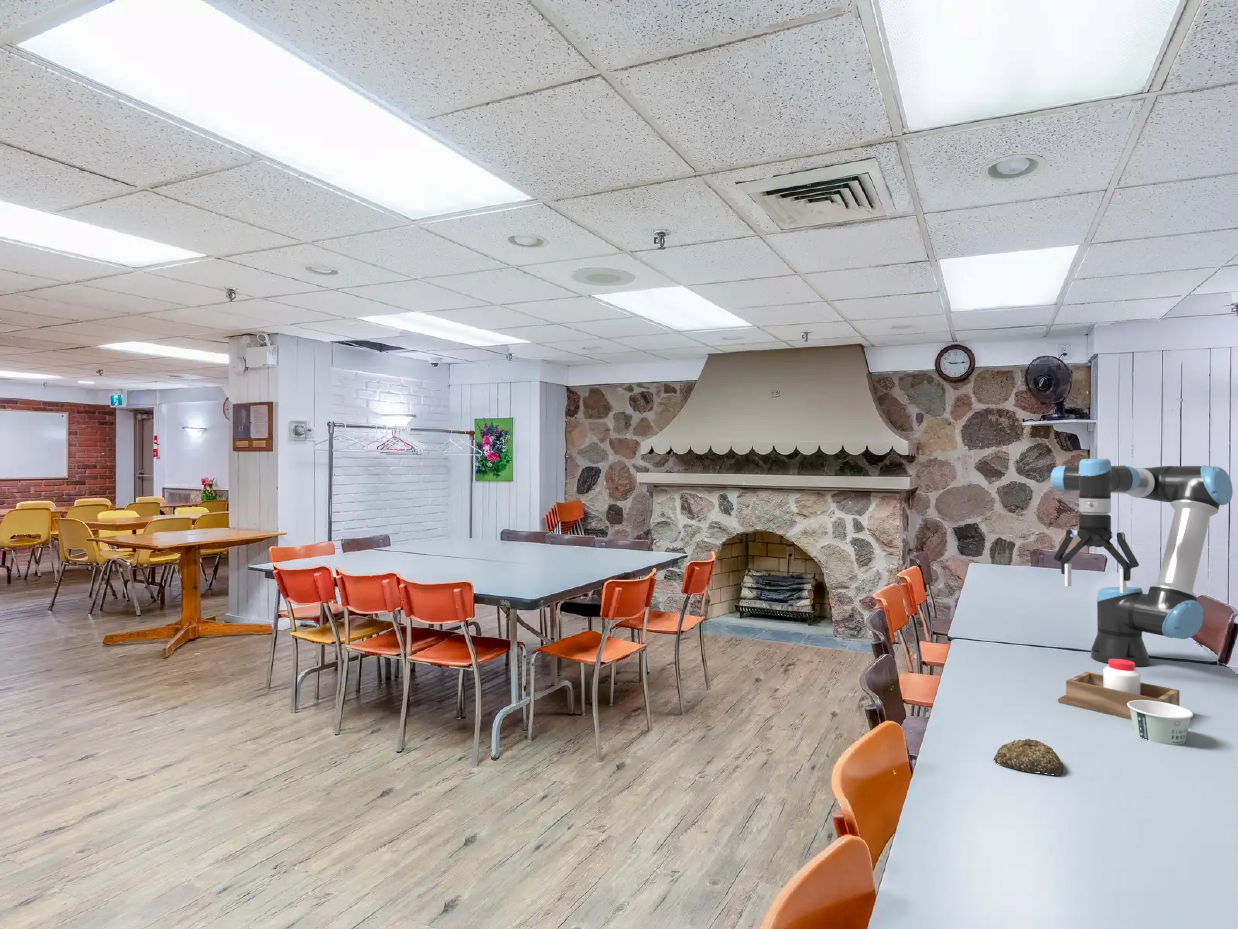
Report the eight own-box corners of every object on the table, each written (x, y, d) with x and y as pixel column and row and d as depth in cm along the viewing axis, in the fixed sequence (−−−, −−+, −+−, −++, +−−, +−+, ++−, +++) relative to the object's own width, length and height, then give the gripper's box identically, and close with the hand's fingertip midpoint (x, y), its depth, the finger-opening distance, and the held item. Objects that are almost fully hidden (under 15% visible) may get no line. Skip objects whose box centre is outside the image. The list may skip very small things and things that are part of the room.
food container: (1175, 751, 155) (1175, 720, 155) (1115, 733, 166) (1115, 704, 166) (1204, 741, 161) (1204, 712, 161) (1144, 724, 172) (1144, 697, 172)
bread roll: (1063, 782, 141) (1062, 756, 141) (991, 767, 147) (991, 743, 147) (1063, 759, 152) (1063, 735, 152) (997, 747, 158) (997, 724, 158)
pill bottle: (1146, 711, 178) (1146, 666, 178) (1111, 709, 179) (1111, 664, 179) (1131, 701, 185) (1131, 658, 185) (1097, 699, 187) (1097, 656, 187)
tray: (1079, 692, 196) (1079, 670, 196) (1188, 716, 177) (1188, 691, 177) (1058, 702, 187) (1058, 679, 187) (1170, 729, 168) (1170, 703, 168)
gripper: (1041, 511, 210) (1041, 584, 210) (1142, 516, 191) (1143, 597, 191) (1052, 510, 215) (1052, 582, 215) (1152, 515, 195) (1152, 594, 195)
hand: (1094, 589), depth 203 cm, fingers open, 13 cm apart
